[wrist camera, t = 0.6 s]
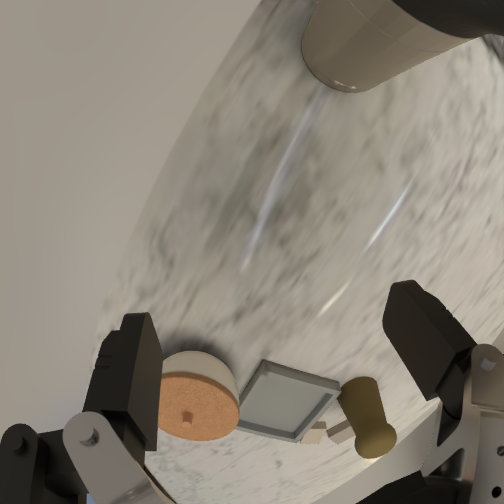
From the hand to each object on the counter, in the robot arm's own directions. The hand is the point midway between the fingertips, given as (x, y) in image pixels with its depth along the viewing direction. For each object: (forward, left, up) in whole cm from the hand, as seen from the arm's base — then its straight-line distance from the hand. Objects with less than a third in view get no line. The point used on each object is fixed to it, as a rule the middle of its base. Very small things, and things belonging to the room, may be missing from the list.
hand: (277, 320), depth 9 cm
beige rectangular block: (+25, +25, -21) cm, 41 cm away
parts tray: (+22, +13, -21) cm, 33 cm away
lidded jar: (+21, +1, -21) cm, 30 cm away
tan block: (+27, +20, -21) cm, 40 cm away
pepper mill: (+17, +22, -21) cm, 35 cm away
